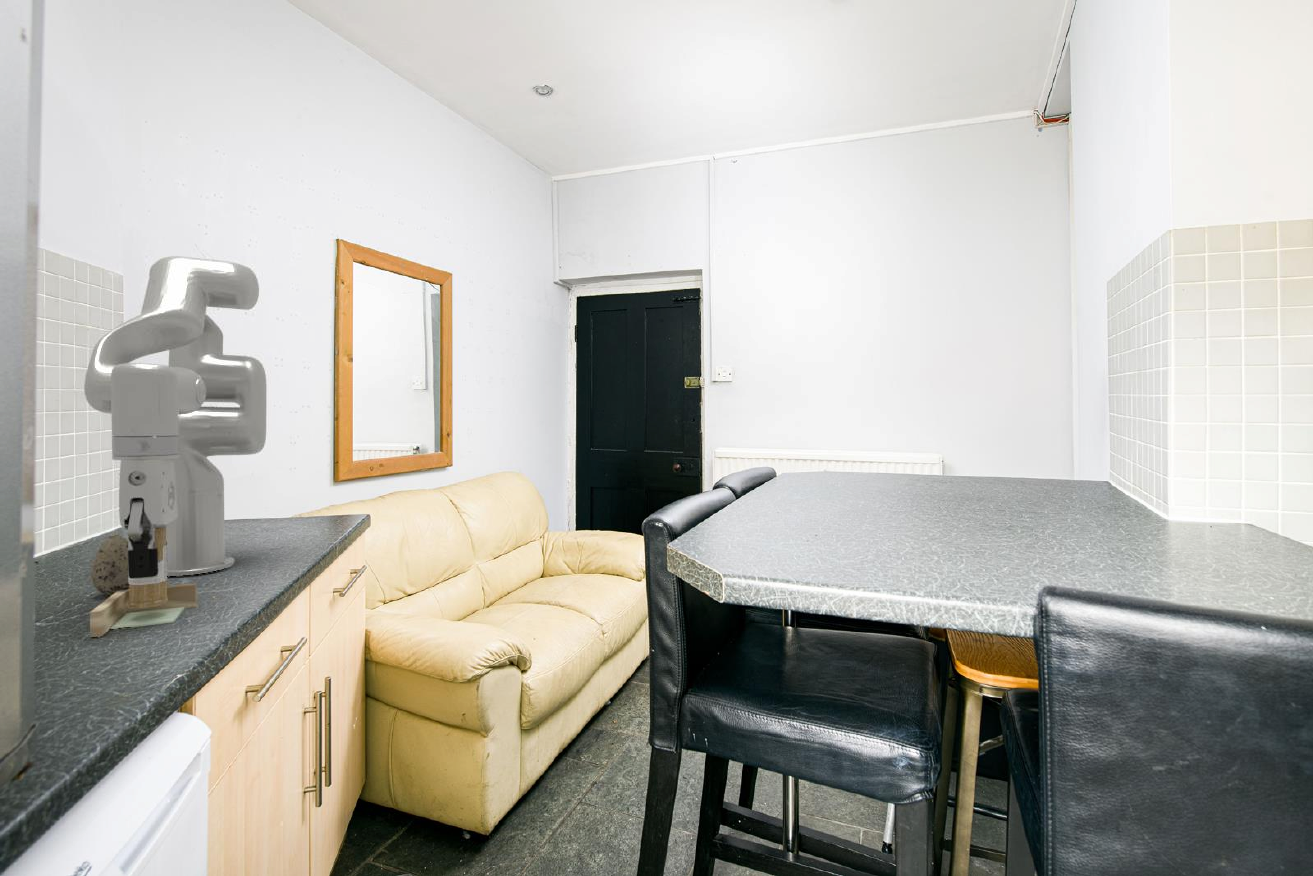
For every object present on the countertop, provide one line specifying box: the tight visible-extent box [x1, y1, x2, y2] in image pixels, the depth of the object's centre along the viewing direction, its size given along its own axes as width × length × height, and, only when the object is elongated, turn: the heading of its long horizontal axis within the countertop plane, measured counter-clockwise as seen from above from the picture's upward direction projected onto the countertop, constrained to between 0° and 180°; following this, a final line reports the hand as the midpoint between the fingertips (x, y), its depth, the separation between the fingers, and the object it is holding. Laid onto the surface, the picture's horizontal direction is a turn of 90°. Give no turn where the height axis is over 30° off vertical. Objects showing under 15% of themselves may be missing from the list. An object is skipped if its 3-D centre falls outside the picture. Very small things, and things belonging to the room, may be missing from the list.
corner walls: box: [89, 582, 198, 638], centre depth 89 cm, size 12×10×4 cm
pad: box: [110, 607, 186, 630], centre depth 89 cm, size 7×7×1 cm
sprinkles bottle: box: [127, 515, 168, 608], centre depth 89 cm, size 5×5×13 cm
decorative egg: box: [90, 534, 129, 596], centre depth 101 cm, size 6×6×10 cm
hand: (148, 571), depth 89 cm, fingers closed on sprinkles bottle, 4 cm apart
